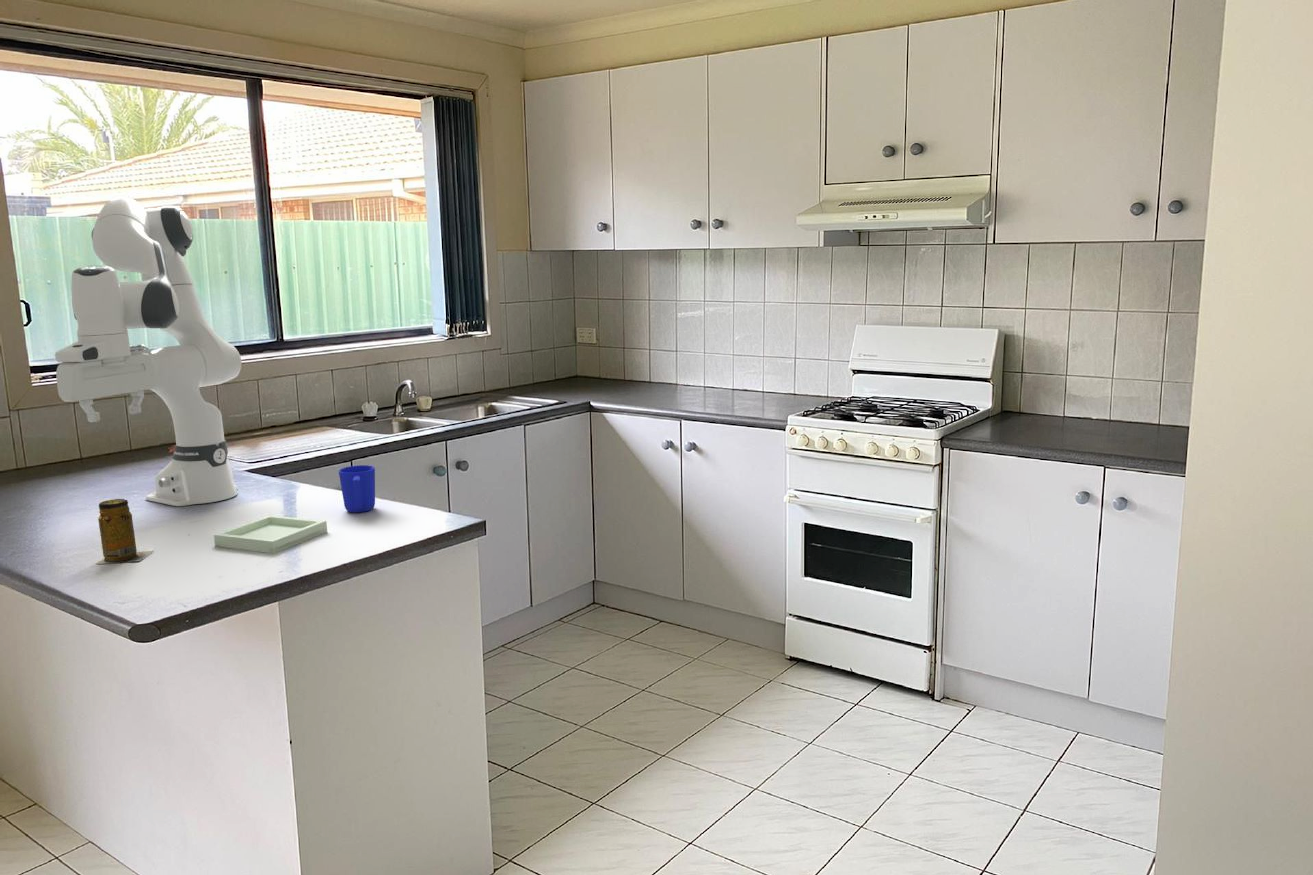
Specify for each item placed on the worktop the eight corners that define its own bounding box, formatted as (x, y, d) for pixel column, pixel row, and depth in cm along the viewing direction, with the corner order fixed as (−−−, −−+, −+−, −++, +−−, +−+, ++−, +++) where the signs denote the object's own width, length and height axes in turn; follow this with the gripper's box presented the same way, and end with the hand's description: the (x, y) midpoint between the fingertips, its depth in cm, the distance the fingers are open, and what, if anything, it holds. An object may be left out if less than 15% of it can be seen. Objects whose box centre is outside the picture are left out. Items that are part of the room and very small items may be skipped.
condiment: (111, 554, 207) (103, 498, 205) (153, 551, 208) (146, 496, 205) (95, 565, 200) (87, 507, 198) (139, 562, 201) (131, 504, 198)
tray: (215, 546, 210) (213, 534, 210) (270, 525, 225) (269, 515, 224) (273, 553, 204) (272, 541, 203) (327, 531, 218) (326, 520, 218)
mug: (341, 520, 228) (337, 477, 226) (342, 507, 239) (339, 466, 237) (378, 516, 230) (374, 474, 228) (378, 504, 241) (374, 463, 239)
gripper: (138, 343, 208) (147, 409, 211) (46, 354, 190) (58, 426, 192) (160, 343, 206) (169, 409, 208) (69, 354, 187) (81, 426, 190)
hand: (115, 417), depth 200 cm, fingers open, 8 cm apart
